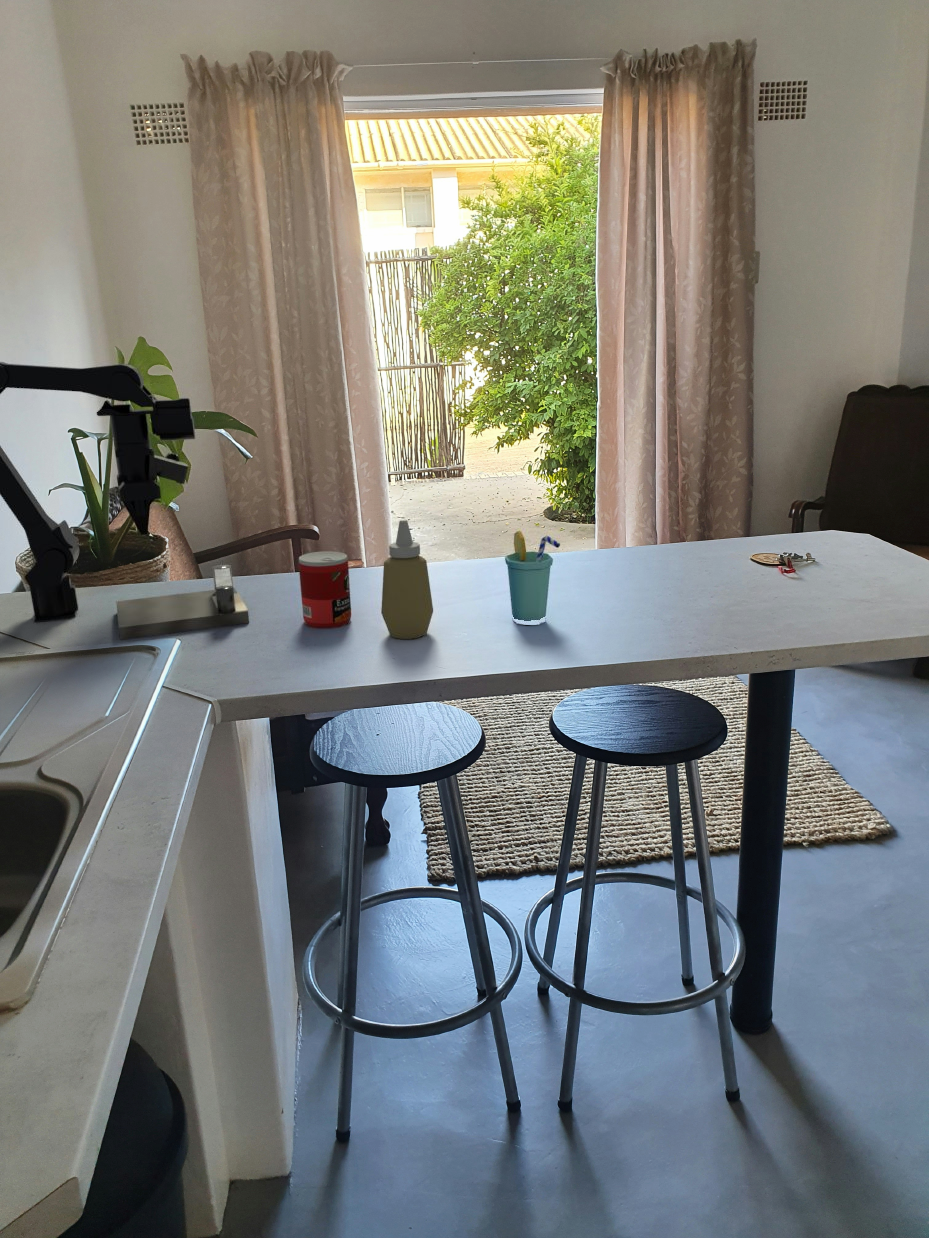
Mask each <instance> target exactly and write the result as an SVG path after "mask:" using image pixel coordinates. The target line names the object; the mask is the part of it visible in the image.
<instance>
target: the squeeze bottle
mask: <svg viewBox="0 0 929 1238" xmlns="http://www.w3.org/2000/svg"><path fill="white" fill-rule="evenodd" d="M420 545H421V544H420V543H419V542H416V541H413V538H412V534H411V529H410V526H409V522H408V520H407V519H401V520H399V522H398V529H397V533H396V540H395V542H392V543H390V544H389V546H388V551H389V552H388V553H389V557H387V558H386V560H385V561H384V562H383V573H382V592H381V611H380V612H381V613H380V614H381V616H382V619H383V620H384V621H383V622H384V623H385V625H386V628H387V631H388V633H389V635H390V637H393V638H395V639H400V640H410V639H412V640H413V639H417V638H422V637H424V636H425V634H427V633H428V629H429V627H430V623H431V621H432V617H433V614H434V605H433V599H432V592H431V591H432V589H431V585H430V584H431V583H430V576H429V569H428V562H427V560H426V558H424V557H423V556H422V555H420V554H421V546H420ZM423 635H424V636H423ZM421 636H422V637H421Z"/></svg>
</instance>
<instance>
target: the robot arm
mask: <svg viewBox="0 0 929 1238" xmlns="http://www.w3.org/2000/svg"><path fill="white" fill-rule="evenodd" d="M9 388H10V389H23V390H24V389H25V390H28V389H29V390H40V391H42V390H45V391H61V392H62V391H63V392H79V393H84V394H87V395H92V396H96V397H100V398H104V399H107V400H104V402H103V404H102V405H101V408H100V409H99V410H98V411H96V416H98V417H107V416H109V418H110V426H111V433H112V440H113V449H114V456H115V460H116V461H115V462H116V469H117V474H116V482H117V487H118V492H119V498H120V502H122V504H123V506H124V507H125V509H126V511H127V513H128V515H129V516H130V517H131V519H132V521H133V523H134V524H135V526H136V528H137V530H138V532H139V533H140V535H142V536H145V535H148V534H149V524H150V523H149V522H150V510H151V505H152V503H153V502H155V500H159V499H162V493H161V487H160V485H159V483H158V482H156V481H158V477H160V478H163V479H167V480H171V481H174V482H176V484H181V485H185V483H186V479H187V475H188V471H189V468H190V466H189V465H188V464H187V463H185V462H184V461H180V458H179V455H178V454H177V453H174V452H173V453H172V452H170V451H169V452H168V453H167V454H166V455H165V456H164V457H163V456H160V455H156V454H155V451H154V449H153V447H151V440H150V432H149V425H148V423H149V422H148V417H147V416H148V415H149V416H150V424H151V430H152V431H151V432H152V435H153V436H156V437H159V439H160V440H159V441H161V442H165V441H167V442H168V441H184V440H185V441H186V440H196V431H195V420H194V416H193V414H192V407H191V400H190V398H189V397H182V398H177V399H162V400H161V399H157V398H156V397H155V394H152V392H151V391H150V390H149V389H148V388H147V387H146V386H145V385H144V377H143V375H142V373H141V372H140V371H139V370H138V369H137V368H136V367H135V366H133V365H131V364H127V363H119V364H111V365H101V366H91V367H84V368H83V367H81V368H79V367H66V366H64V367H63V366H51V365H50V366H47V365H33V364H30V365H29V364H19V363H17V364H16V363H7V362H3V361H0V395H1V394H2V393H4V391H5V390H6V389H9ZM110 400H113V401H117V402H124V404H113V403H112V402H110ZM125 402H131V403H133V404H135V405H137V406H138V407H140V408H152V409H133V406H132V404H131V403H130V404H129V403H127V404H125ZM0 496H1V498H2V499H3V501H4V502H5V504H6V505H7V507H8V509H10V511H11V513H12V514H13V515H14V517H15V518H16V520H17V521H18V522H19V524H20V525H21V527H22V528H23V529H24V531H25V535H26V538H27V543H28V546H29V549H30V551H31V554H32V555H33V557H34V559H35V564H33V566H32V567H31V568H30V569H29V571H28V572H27V573H26V574H25V576H24V580H25V581H26V583H27V585H28V587H29V592H30V597H31V604H32V609H33V622H34V623H35V622H37V623H38V622H46V621H52V620H53V621H54V620H62V619H69V618H70V619H71V618H75V617H76V615H77V612H78V611H79V603H78V595H77V590H76V585H75V584H72V583H71V581H72V580H71V576H69V575H67V574H69V571H70V570H71V569H72V568H73V566H74V564H75V563H76V561H77V560H78V558H79V555H80V547H79V545H78V542H79V540H80V539H79V538H78V537H77V536H76V535H75V534H73V532H72V531H71V529H70V527H69V524H68V522H67V521H66V520H64V519H63V520H62V521H61V522H59V523H58V522H56V521H55V520H54V519H52V518H51V517H50V516H49V515H48V514H47V513H46V511H45V510H44V508H43V507H42V506H41V503H40V502H39V501H38V499H37V497H35V495H34V493H33V491H31V489H30V487H29V486H28V484H27V483H26V481H25V480H24V479H23V478H22V475H21V474H20V473H19V471H18V470H17V469H16V467H15V465H14V464H13V463H12V461H11V460H10V458H9V456H8V455H7V454H6V452H5V451H4V448H2V446H1V445H0Z"/></svg>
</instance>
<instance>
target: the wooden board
mask: <svg viewBox="0 0 929 1238" xmlns="http://www.w3.org/2000/svg"><path fill="white" fill-rule="evenodd" d="M233 589H234V598H235V608H236V611H235V612H234V613H231V614H219V613H218V608H217V599H216V591H215V589H210V590H203V591H202V590H201V591H195V592H193V591H192V592H186V593H185V592H184V593H176V594H169V595H167V594H166V595H159V596H151V597H150V596H149V597H143V598H133V599H127V600H118V601H115V602H116V614H117V625H118V632H119V640H121V641H122V640H128V639H135V638H143V637H151V636H159V635H166V634H173V633H174V634H175V633H183V632H190V631H197V630H204V629H211V628H212V629H213V628H218V627H219V628H220V627H226V626H227V627H229V626H235V625H243V624H249V623H250V617H249V609H248V608H247V605H245V603H244V601H243V599H242V597H241V595H240V594H239V593H238V591H237V590H236V588H235V587H233Z"/></svg>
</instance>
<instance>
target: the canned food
mask: <svg viewBox="0 0 929 1238" xmlns="http://www.w3.org/2000/svg"><path fill="white" fill-rule="evenodd" d="M349 569H350V568H349V559H348V555H347V554H346V553H343V552H340V551H329V550H328V551H327V550H326V551H314V552H307V553H305V554H302V555H300V556H299V557H298V573H299V583H300V585H299V586H300V597H301V605H302V606H301V607H302V619H303V621H304V624H305V625H306V626H308V627H311V628H316V629H333V628H338V627H339V628H340V627H343V626H345V625H347V624H348V623H350V622H349V621H351V618H352V606H351V605H352V603H351V586H350V585H351V584H350V570H349Z"/></svg>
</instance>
